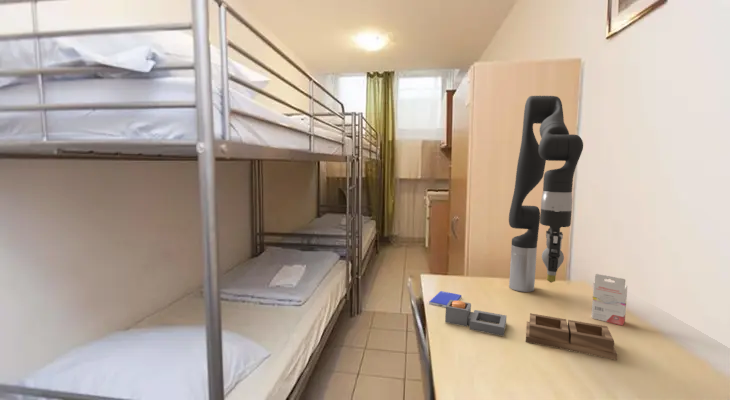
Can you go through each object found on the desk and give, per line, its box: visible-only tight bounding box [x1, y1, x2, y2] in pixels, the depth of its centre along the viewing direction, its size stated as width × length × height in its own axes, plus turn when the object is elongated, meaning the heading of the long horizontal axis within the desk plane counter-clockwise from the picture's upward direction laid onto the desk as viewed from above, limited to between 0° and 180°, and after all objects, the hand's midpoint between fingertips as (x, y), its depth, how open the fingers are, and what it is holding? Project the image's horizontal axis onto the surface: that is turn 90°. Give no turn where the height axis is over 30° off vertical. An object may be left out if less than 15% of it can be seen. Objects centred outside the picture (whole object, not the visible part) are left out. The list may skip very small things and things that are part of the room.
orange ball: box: [452, 300, 465, 309], centre depth 113 cm, size 4×4×4 cm
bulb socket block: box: [444, 300, 507, 337], centre depth 111 cm, size 10×17×5 cm, turn 65°
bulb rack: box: [525, 313, 618, 361], centre depth 100 cm, size 11×21×4 cm, turn 65°
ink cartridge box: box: [591, 273, 628, 327], centre depth 115 cm, size 9×5×15 cm, turn 47°
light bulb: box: [541, 247, 565, 283], centre depth 101 cm, size 6×6×10 cm
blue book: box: [428, 290, 462, 308], centre depth 130 cm, size 2×8×12 cm
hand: (551, 268), depth 101 cm, fingers closed on light bulb, 5 cm apart
